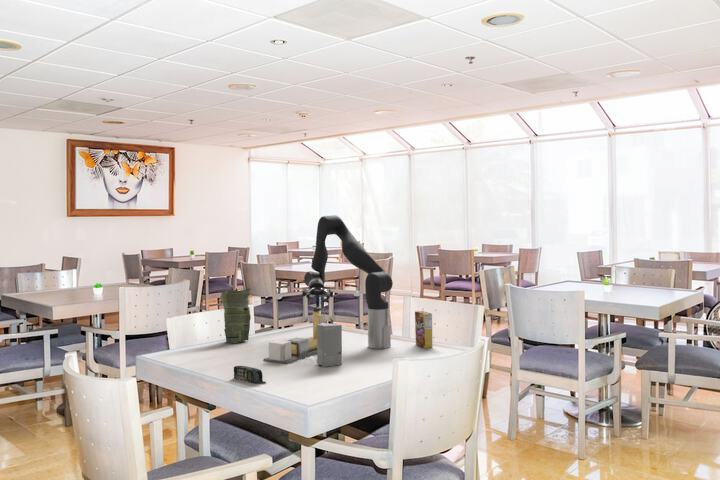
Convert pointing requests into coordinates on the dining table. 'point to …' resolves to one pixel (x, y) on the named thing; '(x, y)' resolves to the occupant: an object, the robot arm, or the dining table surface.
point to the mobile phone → (248, 374)
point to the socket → (280, 350)
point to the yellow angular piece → (313, 340)
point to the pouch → (236, 315)
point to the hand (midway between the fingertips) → (318, 296)
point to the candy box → (423, 329)
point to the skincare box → (329, 344)
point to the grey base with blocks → (302, 351)
